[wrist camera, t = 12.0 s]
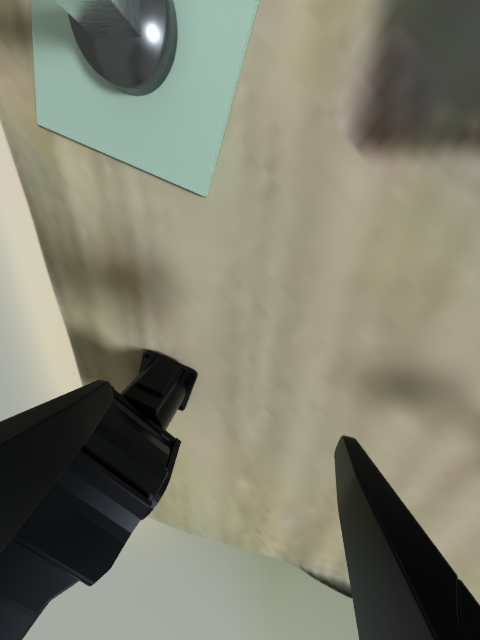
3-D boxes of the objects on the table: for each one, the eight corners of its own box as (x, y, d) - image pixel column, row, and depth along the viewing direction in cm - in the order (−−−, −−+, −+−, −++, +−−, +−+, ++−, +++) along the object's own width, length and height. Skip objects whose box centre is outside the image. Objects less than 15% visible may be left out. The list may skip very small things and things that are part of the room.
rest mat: (207, 197, 17) (204, 196, 17) (44, 126, 18) (37, 124, 17) (288, -110, 11) (288, -128, 10) (29, -216, 11) (16, -238, 11)
